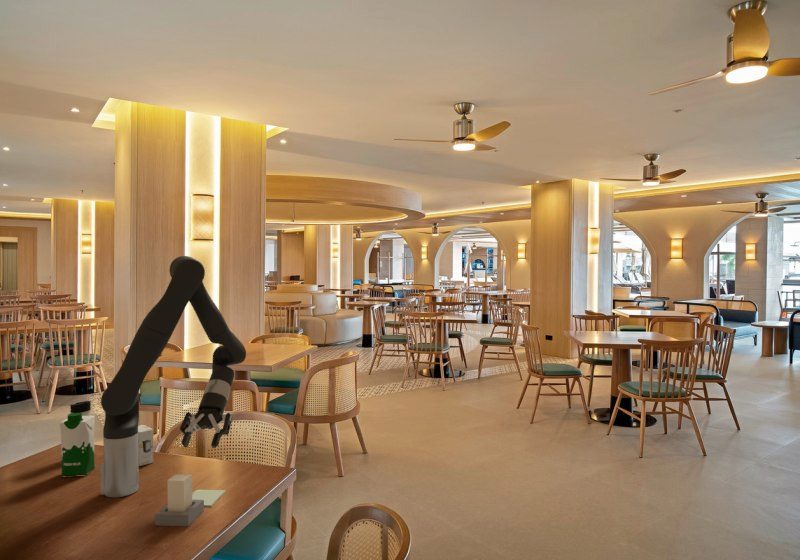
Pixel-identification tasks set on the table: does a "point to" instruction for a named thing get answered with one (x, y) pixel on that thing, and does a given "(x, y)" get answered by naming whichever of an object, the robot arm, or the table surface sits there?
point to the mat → (208, 496)
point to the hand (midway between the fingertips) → (199, 446)
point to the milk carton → (77, 444)
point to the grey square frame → (179, 515)
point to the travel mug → (81, 408)
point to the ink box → (145, 445)
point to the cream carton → (180, 493)
